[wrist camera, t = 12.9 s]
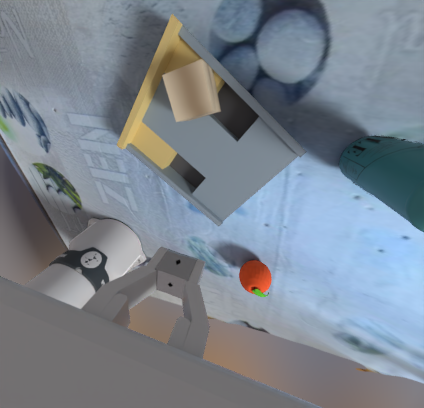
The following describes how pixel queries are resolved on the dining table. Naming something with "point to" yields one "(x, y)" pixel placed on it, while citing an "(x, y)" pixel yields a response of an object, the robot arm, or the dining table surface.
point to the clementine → (255, 277)
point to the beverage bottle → (389, 173)
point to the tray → (205, 134)
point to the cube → (192, 91)
